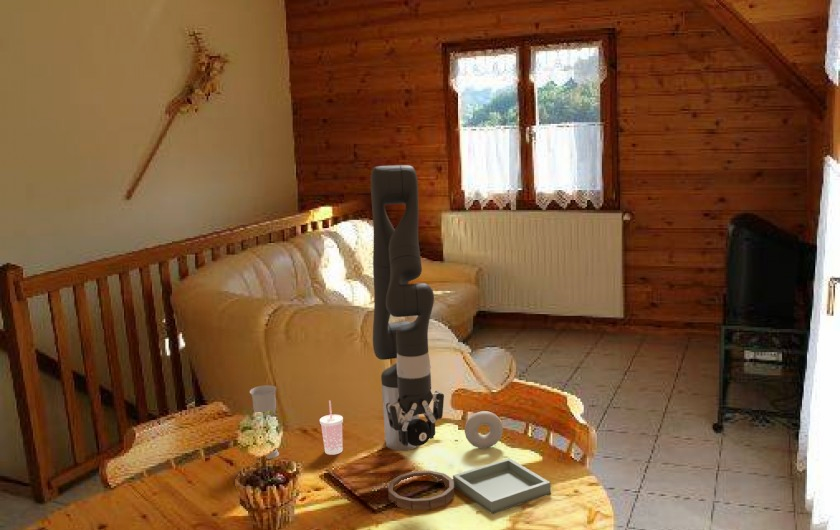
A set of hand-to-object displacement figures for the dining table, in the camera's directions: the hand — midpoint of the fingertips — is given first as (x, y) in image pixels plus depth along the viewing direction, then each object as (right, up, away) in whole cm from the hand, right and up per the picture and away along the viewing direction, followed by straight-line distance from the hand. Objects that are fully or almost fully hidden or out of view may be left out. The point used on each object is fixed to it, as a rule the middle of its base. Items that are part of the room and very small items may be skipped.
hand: (417, 440), depth 185 cm
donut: (+17, -8, +26) cm, 32 cm away
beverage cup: (-22, -9, +29) cm, 38 cm away
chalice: (-39, -10, +29) cm, 50 cm away
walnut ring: (+1, -13, +2) cm, 13 cm away
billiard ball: (0, -1, 0) cm, 1 cm away
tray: (+19, -12, +2) cm, 23 cm away
